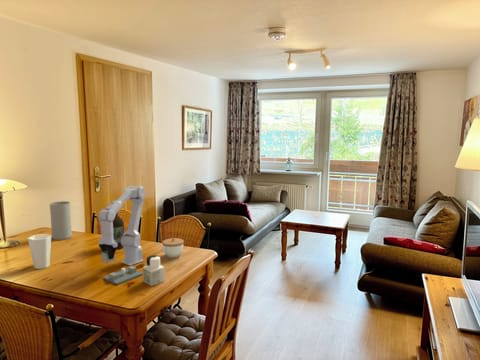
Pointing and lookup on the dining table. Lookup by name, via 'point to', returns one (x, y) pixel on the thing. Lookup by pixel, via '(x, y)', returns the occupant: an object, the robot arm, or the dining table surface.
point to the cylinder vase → (60, 220)
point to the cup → (40, 250)
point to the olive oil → (118, 230)
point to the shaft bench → (125, 278)
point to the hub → (106, 257)
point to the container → (153, 271)
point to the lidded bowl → (173, 247)
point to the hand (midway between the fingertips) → (108, 257)
